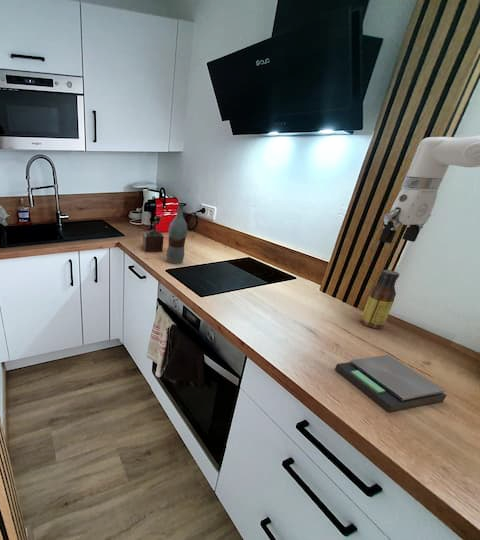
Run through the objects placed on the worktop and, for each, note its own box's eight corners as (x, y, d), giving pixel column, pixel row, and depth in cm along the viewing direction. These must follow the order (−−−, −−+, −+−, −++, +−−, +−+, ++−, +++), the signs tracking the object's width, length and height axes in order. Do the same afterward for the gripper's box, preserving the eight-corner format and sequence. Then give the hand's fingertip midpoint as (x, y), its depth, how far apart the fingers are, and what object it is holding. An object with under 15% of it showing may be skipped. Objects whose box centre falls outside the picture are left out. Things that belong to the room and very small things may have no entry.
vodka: (162, 260, 150) (167, 203, 139) (172, 256, 156) (178, 201, 144) (176, 266, 144) (183, 206, 132) (186, 261, 150) (194, 204, 138)
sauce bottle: (385, 326, 99) (409, 273, 91) (379, 331, 95) (404, 278, 88) (362, 317, 104) (383, 267, 96) (355, 322, 100) (377, 270, 92)
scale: (383, 362, 81) (386, 354, 80) (443, 401, 69) (448, 393, 68) (334, 369, 78) (337, 362, 77) (388, 412, 65) (392, 404, 64)
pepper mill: (163, 252, 163) (166, 221, 156) (144, 252, 162) (146, 221, 155) (158, 243, 177) (160, 215, 170) (140, 243, 176) (142, 214, 169)
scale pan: (386, 356, 80) (388, 354, 80) (443, 392, 68) (445, 390, 68) (349, 362, 77) (350, 360, 77) (401, 401, 66) (403, 398, 65)
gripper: (414, 185, 76) (388, 246, 83) (458, 185, 80) (431, 243, 87) (384, 182, 83) (363, 239, 90) (426, 182, 87) (403, 236, 94)
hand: (396, 241), depth 88 cm, fingers open, 9 cm apart
